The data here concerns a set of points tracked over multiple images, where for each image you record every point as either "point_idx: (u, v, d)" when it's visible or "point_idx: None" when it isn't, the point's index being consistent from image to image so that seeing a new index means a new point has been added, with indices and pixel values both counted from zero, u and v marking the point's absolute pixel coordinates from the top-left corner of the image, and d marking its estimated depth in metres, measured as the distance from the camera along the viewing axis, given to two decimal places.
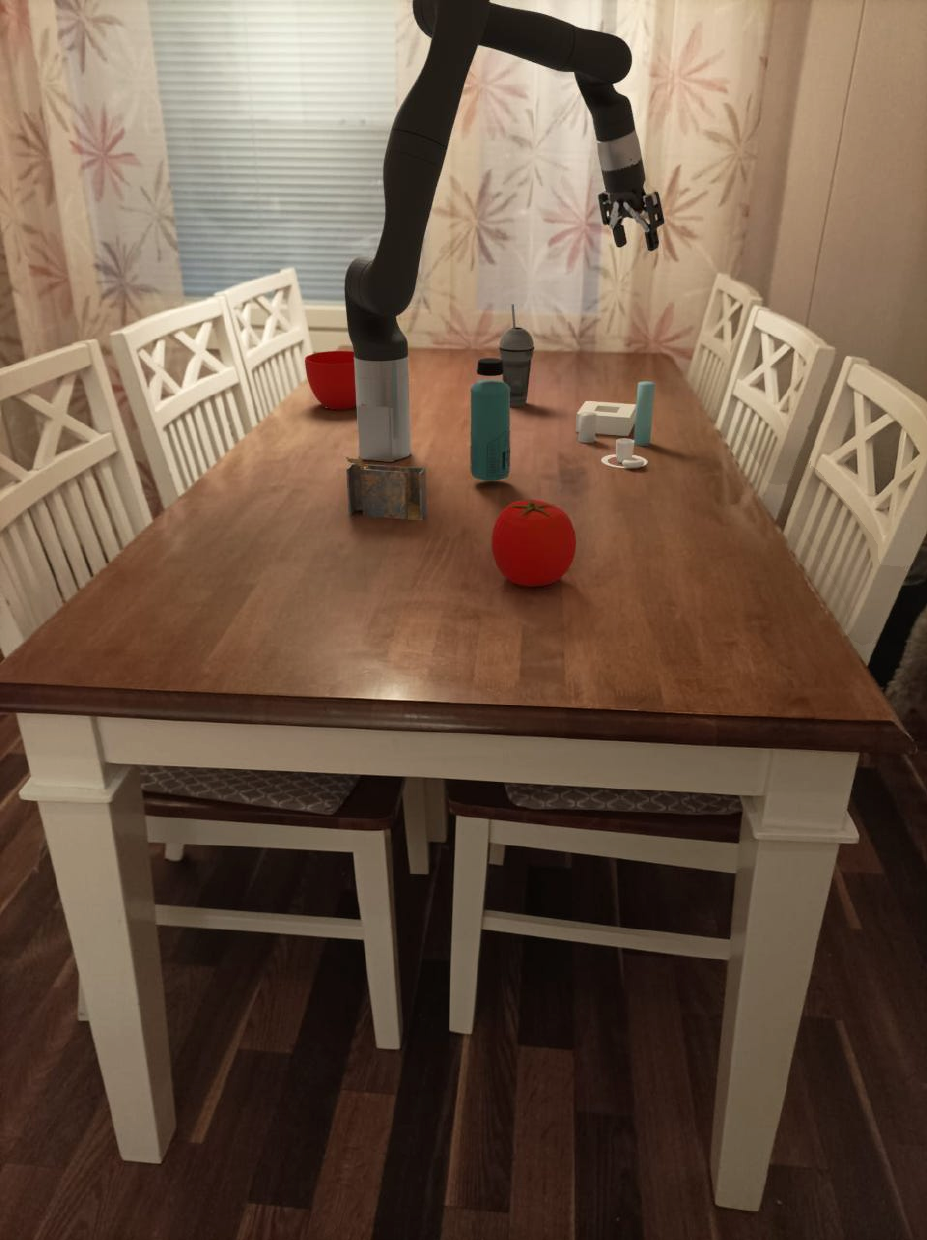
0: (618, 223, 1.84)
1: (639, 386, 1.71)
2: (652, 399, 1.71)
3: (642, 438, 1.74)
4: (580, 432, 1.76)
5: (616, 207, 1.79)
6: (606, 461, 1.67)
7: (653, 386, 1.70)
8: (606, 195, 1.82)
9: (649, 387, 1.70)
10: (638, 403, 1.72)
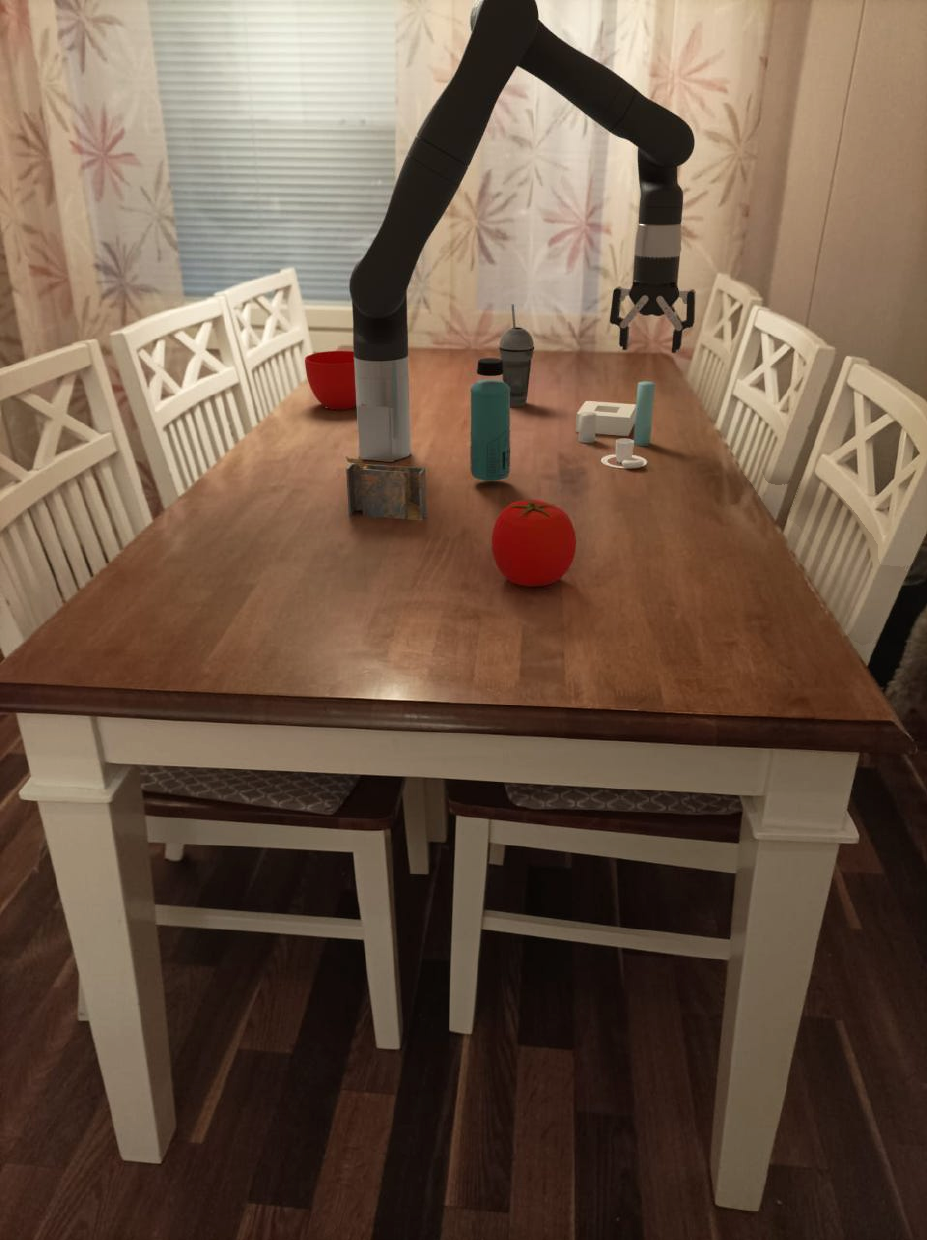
0: None
1: (639, 386, 1.71)
2: (652, 399, 1.71)
3: (642, 438, 1.74)
4: (580, 432, 1.76)
5: (643, 302, 1.63)
6: (606, 461, 1.67)
7: (653, 386, 1.70)
8: (623, 291, 1.65)
9: (649, 387, 1.70)
10: (638, 403, 1.72)
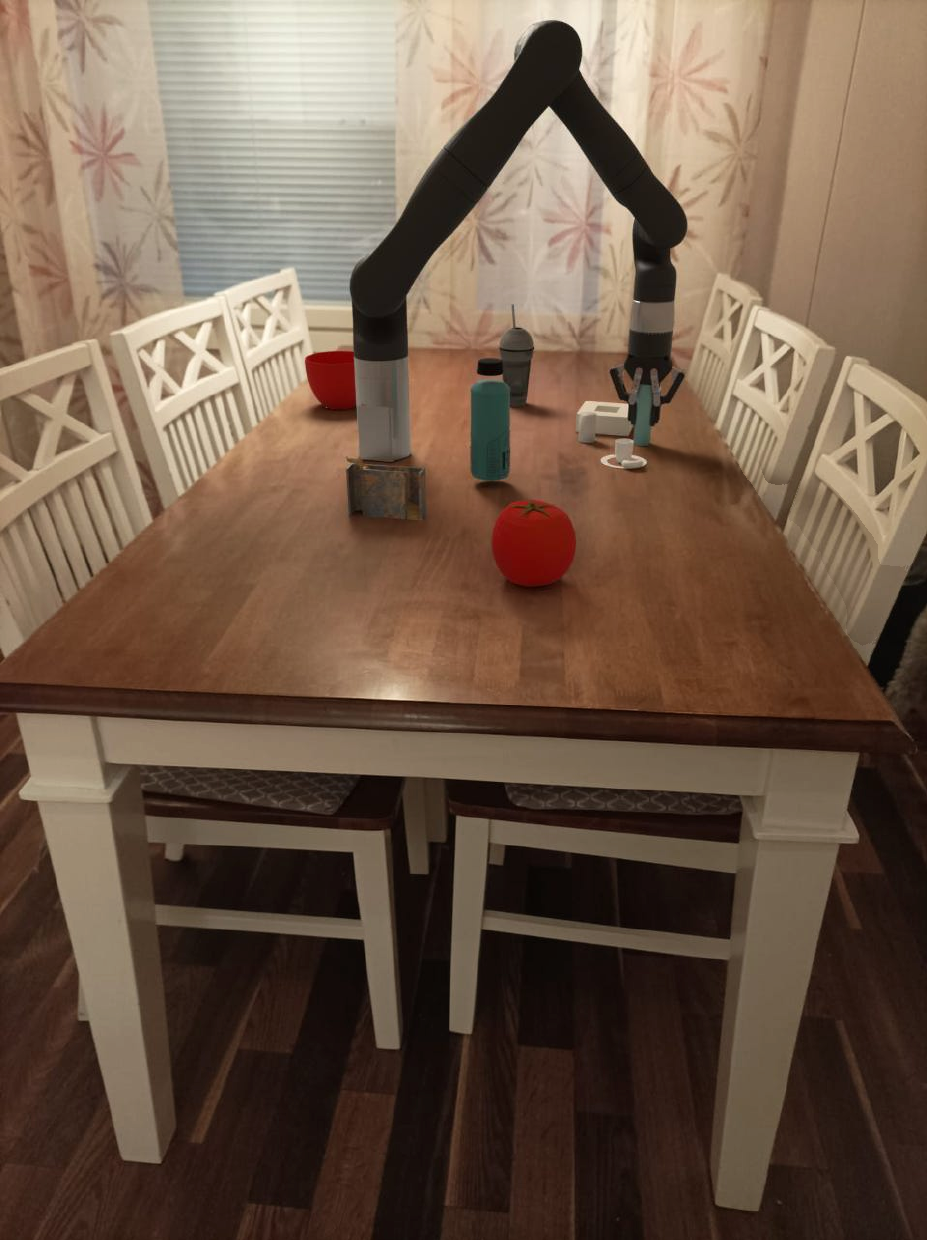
0: (636, 399, 1.73)
1: (639, 386, 1.71)
2: (652, 399, 1.71)
3: (642, 438, 1.74)
4: (580, 432, 1.76)
5: (639, 373, 1.69)
6: (605, 461, 1.67)
7: None
8: (618, 368, 1.71)
9: (649, 387, 1.70)
10: (638, 403, 1.72)
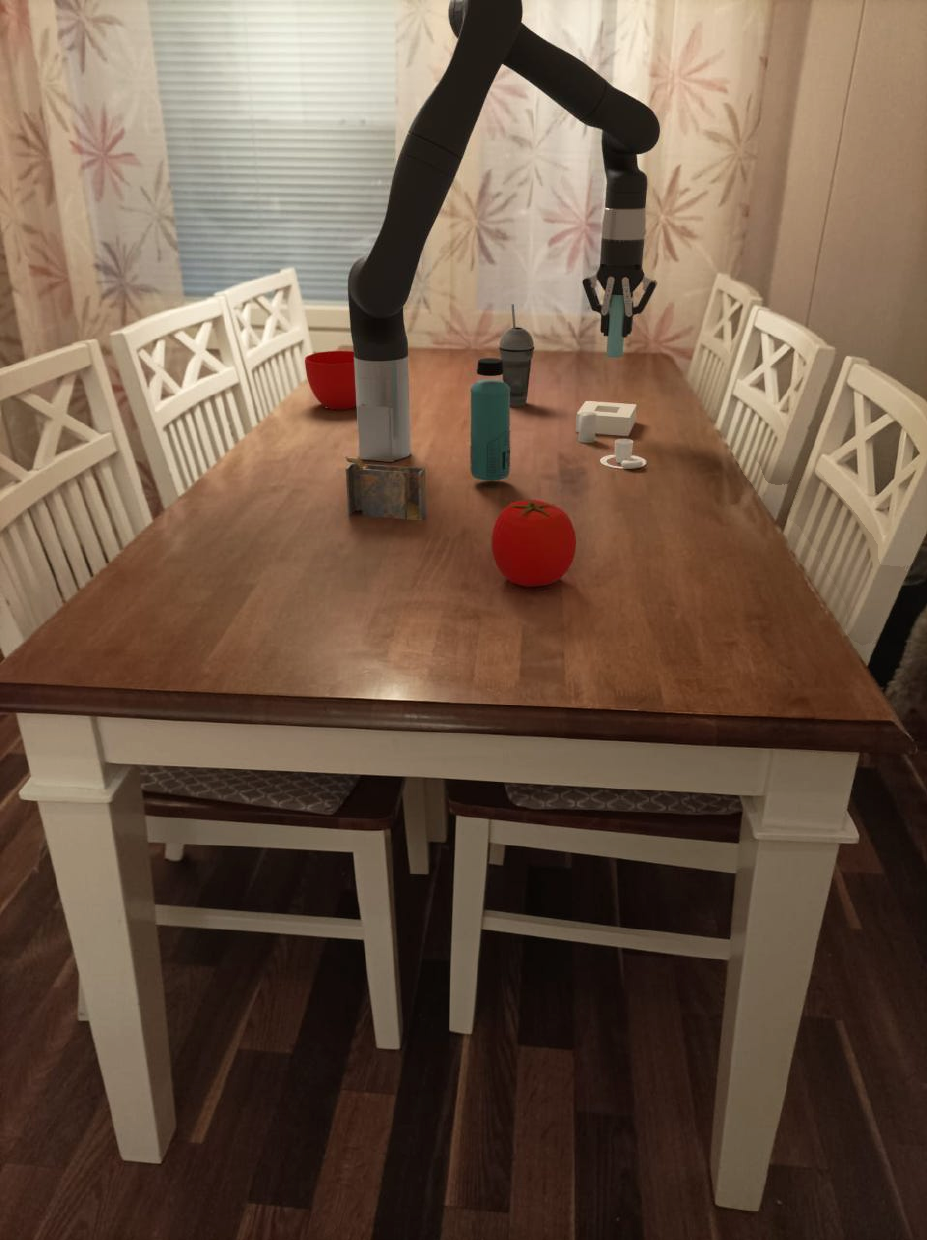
0: (608, 311, 1.75)
1: (611, 296, 1.73)
2: (624, 310, 1.74)
3: (614, 349, 1.76)
4: (580, 432, 1.76)
5: (611, 283, 1.71)
6: (605, 461, 1.67)
7: None
8: (591, 278, 1.73)
9: (621, 297, 1.72)
10: (610, 314, 1.74)
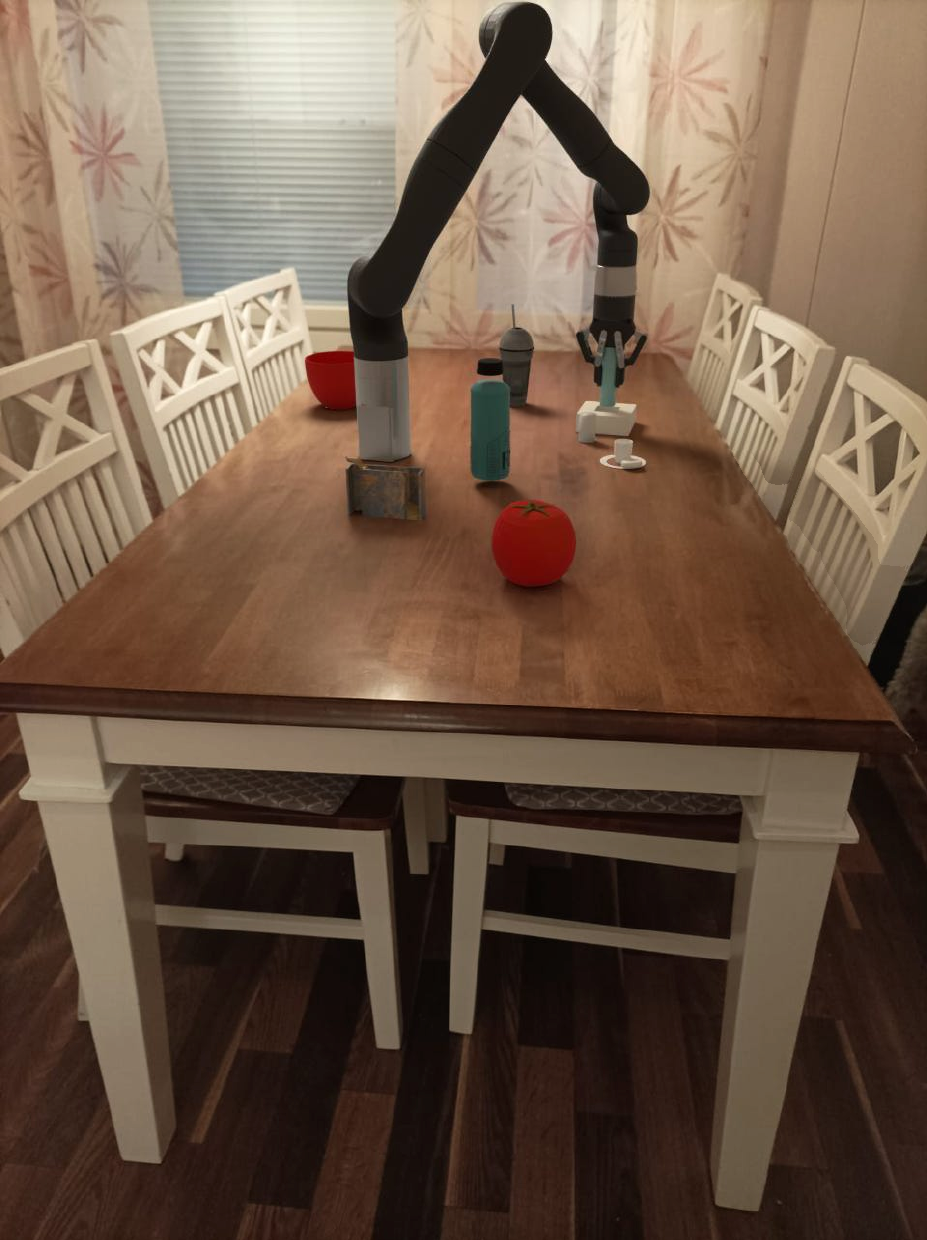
0: (601, 362, 1.81)
1: (604, 349, 1.78)
2: (616, 361, 1.79)
3: (607, 399, 1.82)
4: (580, 432, 1.76)
5: (604, 336, 1.76)
6: (604, 461, 1.66)
7: None
8: (584, 331, 1.79)
9: (613, 349, 1.78)
10: (603, 365, 1.80)
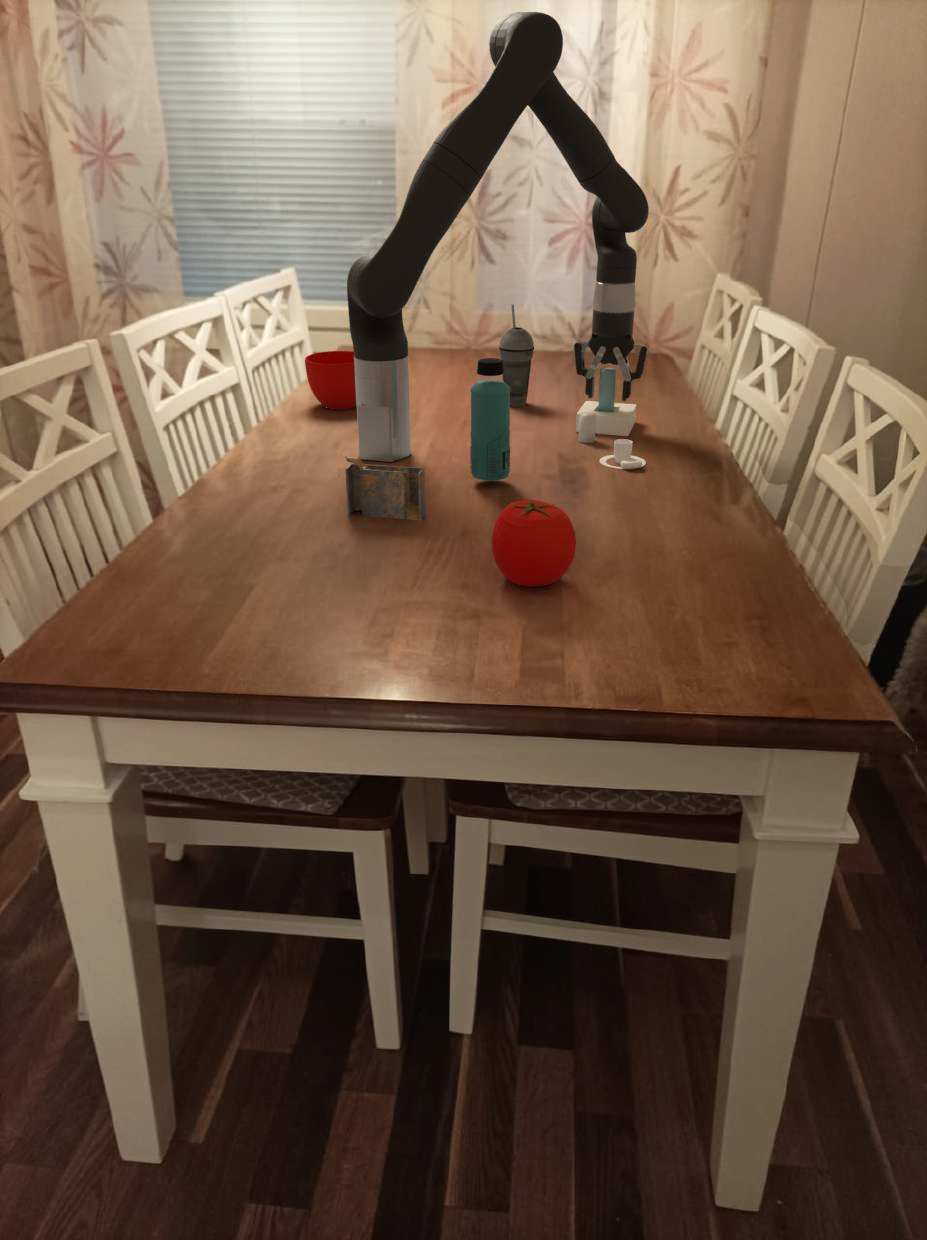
0: (593, 374, 1.82)
1: (601, 372, 1.81)
2: (613, 384, 1.81)
3: None
4: (580, 432, 1.76)
5: (602, 352, 1.78)
6: (604, 462, 1.66)
7: (614, 372, 1.80)
8: (582, 344, 1.80)
9: (610, 373, 1.80)
10: (600, 388, 1.82)
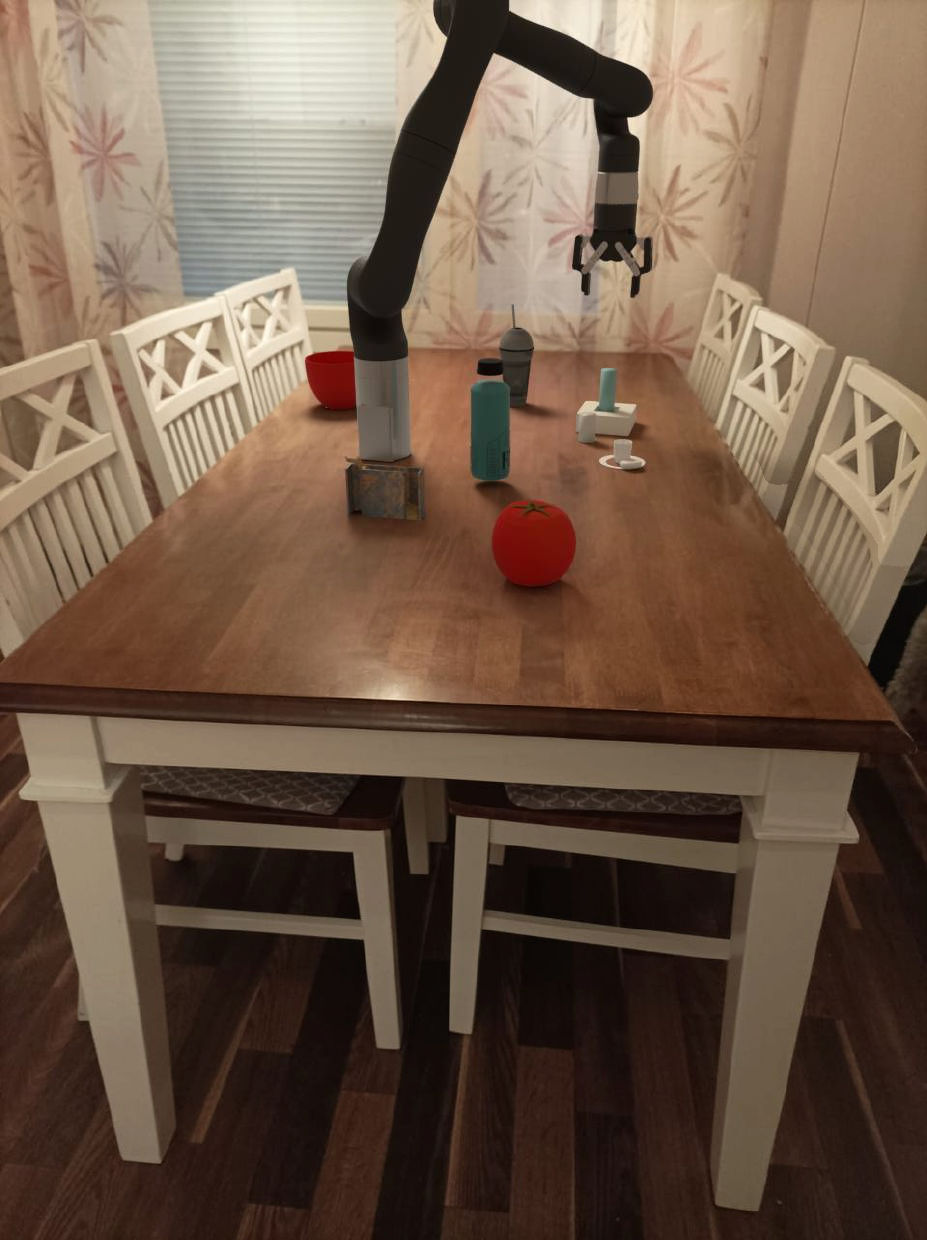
0: (589, 270, 1.76)
1: (602, 372, 1.80)
2: (614, 384, 1.81)
3: None
4: (580, 432, 1.76)
5: (603, 248, 1.72)
6: (604, 462, 1.66)
7: (615, 372, 1.80)
8: (584, 237, 1.73)
9: (611, 373, 1.80)
10: (601, 388, 1.82)
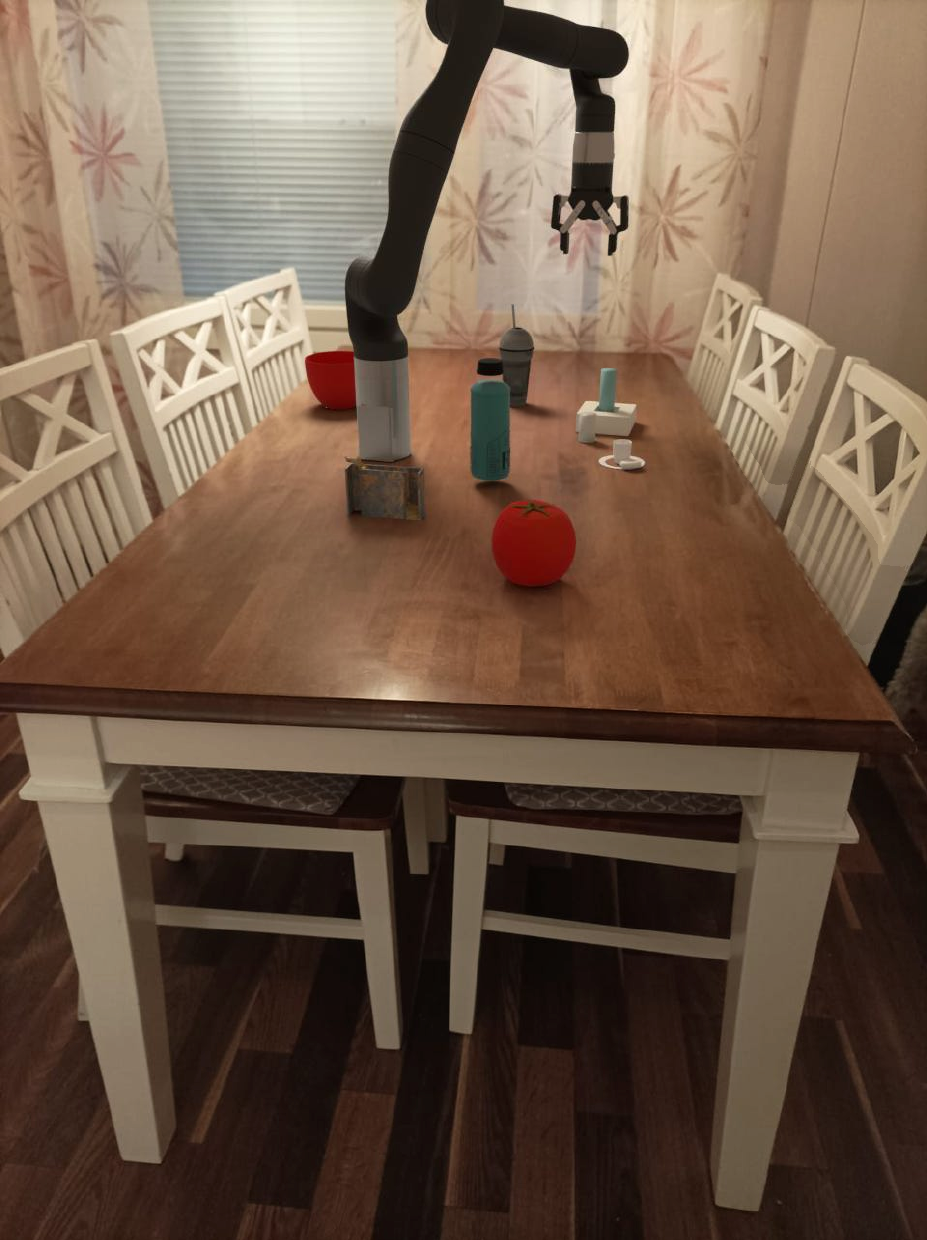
0: (567, 229, 1.82)
1: (602, 372, 1.80)
2: (614, 384, 1.81)
3: None
4: (580, 432, 1.76)
5: (581, 206, 1.77)
6: (603, 462, 1.66)
7: (615, 372, 1.80)
8: (562, 197, 1.79)
9: (611, 373, 1.80)
10: (601, 388, 1.82)
